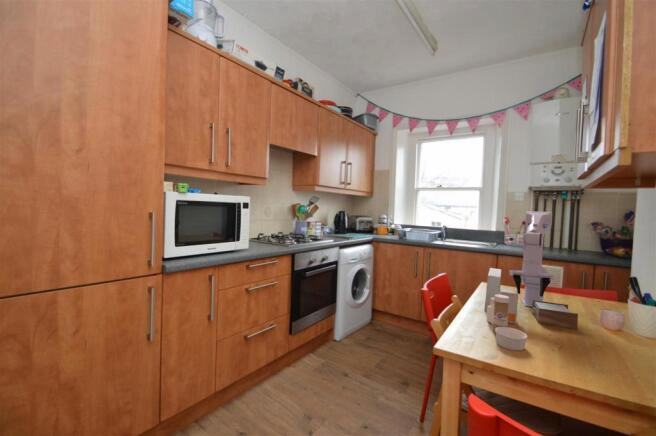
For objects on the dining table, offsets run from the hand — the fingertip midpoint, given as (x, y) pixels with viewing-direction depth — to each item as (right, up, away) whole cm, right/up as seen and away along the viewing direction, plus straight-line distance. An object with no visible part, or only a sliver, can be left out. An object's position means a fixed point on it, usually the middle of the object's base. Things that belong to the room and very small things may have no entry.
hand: (529, 294), depth 119 cm
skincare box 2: (-11, -10, -3) cm, 15 cm away
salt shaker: (-18, -10, -5) cm, 21 cm away
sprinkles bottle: (-21, -10, -15) cm, 28 cm away
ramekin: (-23, -10, -24) cm, 35 cm away
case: (+8, -10, -1) cm, 13 cm away
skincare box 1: (-7, -9, +15) cm, 19 cm away
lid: (+8, -6, -1) cm, 10 cm away
